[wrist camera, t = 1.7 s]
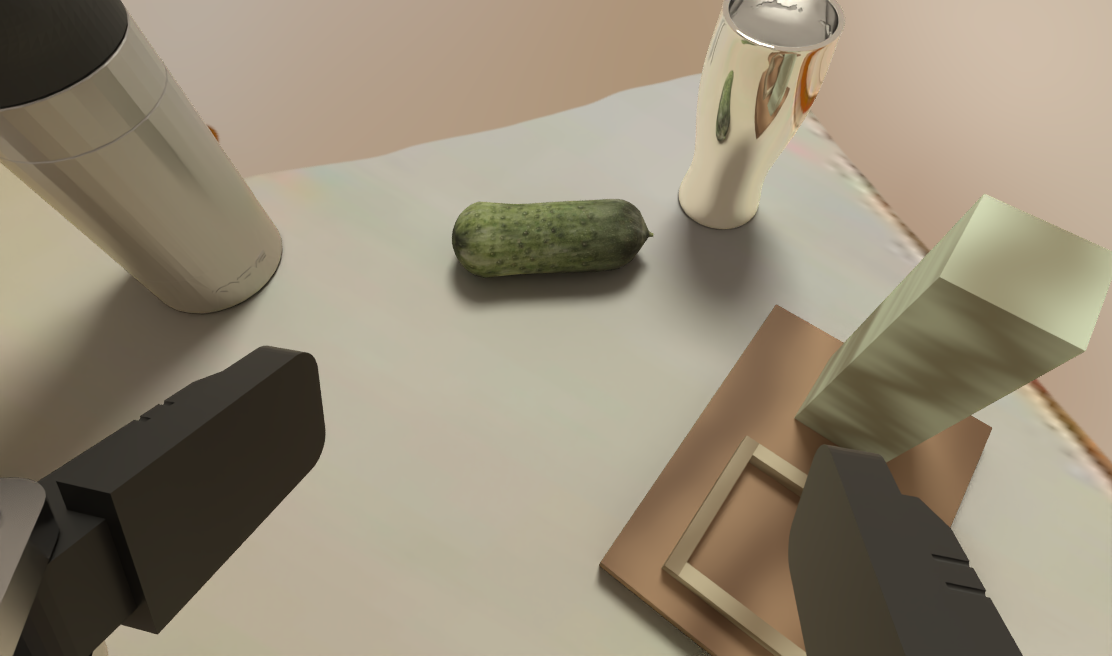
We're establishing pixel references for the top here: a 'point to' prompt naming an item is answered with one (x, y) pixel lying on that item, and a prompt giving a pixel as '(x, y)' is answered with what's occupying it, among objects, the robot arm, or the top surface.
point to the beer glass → (754, 100)
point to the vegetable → (548, 237)
